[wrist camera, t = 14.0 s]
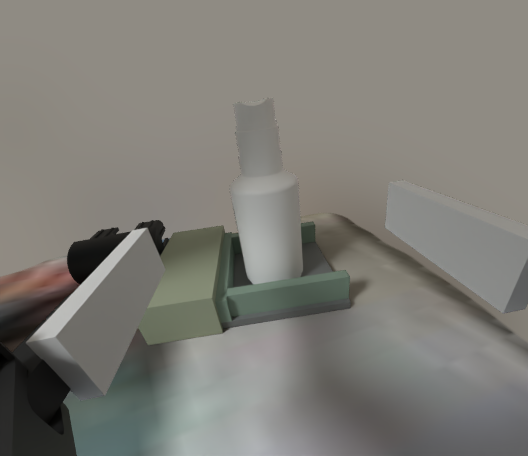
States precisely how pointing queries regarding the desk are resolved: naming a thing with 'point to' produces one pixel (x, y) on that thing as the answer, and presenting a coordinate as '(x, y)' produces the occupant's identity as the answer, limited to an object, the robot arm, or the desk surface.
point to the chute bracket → (233, 287)
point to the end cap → (106, 248)
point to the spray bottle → (265, 198)
